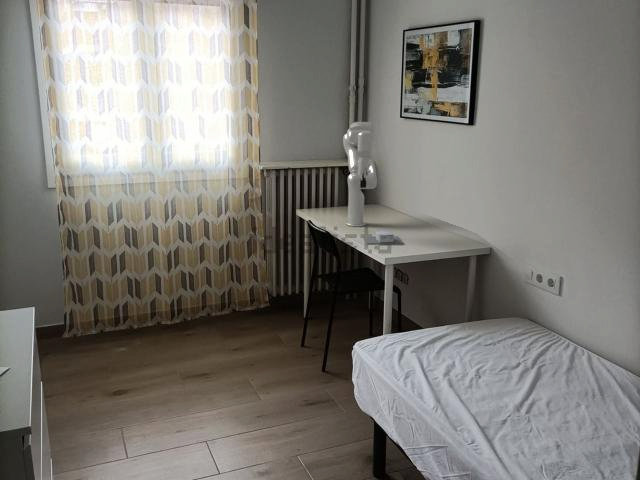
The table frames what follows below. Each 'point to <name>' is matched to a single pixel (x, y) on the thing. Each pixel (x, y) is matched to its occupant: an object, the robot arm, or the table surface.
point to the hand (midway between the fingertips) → (363, 187)
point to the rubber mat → (374, 241)
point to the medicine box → (384, 236)
